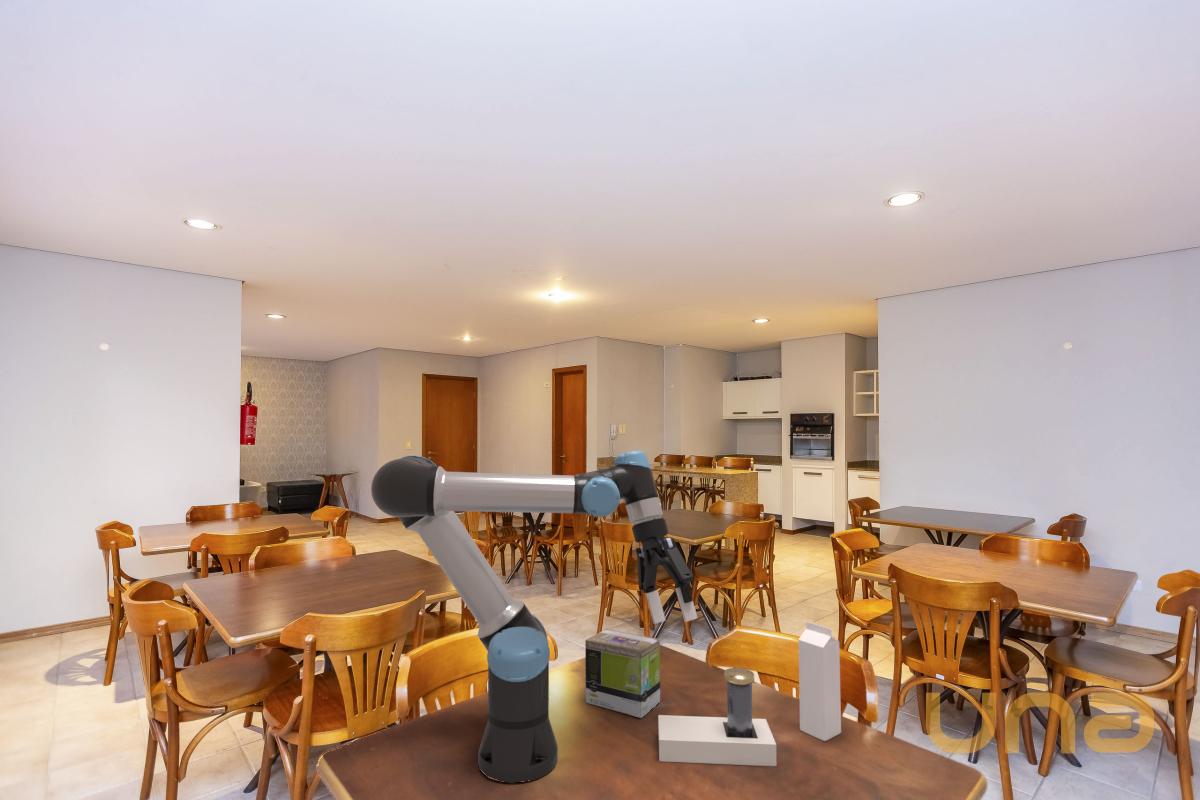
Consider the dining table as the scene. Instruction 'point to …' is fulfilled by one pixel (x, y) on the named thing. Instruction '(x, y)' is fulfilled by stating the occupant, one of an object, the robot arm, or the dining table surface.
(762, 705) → the dining table surface
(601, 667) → the tea box
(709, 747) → the housing block
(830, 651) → the milk
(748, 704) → the grey capped cylinder
